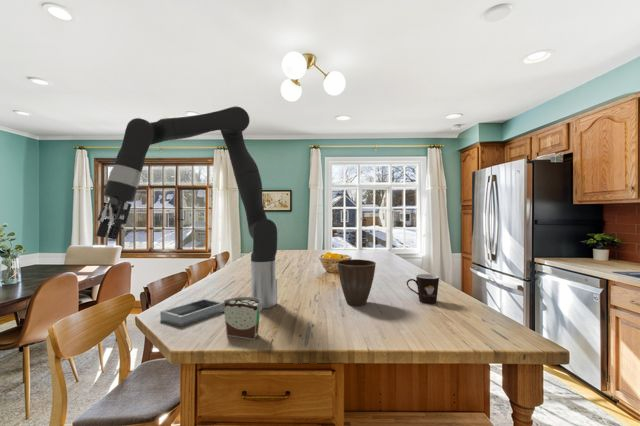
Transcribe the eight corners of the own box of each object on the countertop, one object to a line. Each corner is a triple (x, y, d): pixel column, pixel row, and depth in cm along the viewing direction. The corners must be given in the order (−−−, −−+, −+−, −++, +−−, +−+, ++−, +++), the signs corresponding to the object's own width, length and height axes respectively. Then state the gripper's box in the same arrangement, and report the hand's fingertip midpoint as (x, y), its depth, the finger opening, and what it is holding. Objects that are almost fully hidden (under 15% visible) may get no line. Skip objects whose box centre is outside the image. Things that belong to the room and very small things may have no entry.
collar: (204, 306, 112) (204, 298, 112) (224, 311, 107) (224, 303, 107) (160, 320, 98) (160, 311, 98) (181, 326, 92) (181, 317, 92)
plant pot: (383, 303, 115) (383, 262, 115) (359, 312, 105) (359, 267, 105) (353, 295, 126) (353, 258, 126) (329, 303, 115) (329, 262, 115)
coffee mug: (441, 300, 118) (441, 275, 118) (437, 306, 111) (436, 279, 111) (412, 296, 124) (411, 272, 124) (406, 301, 117) (405, 276, 117)
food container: (270, 332, 87) (270, 298, 87) (259, 340, 82) (259, 304, 82) (235, 327, 91) (234, 294, 91) (222, 335, 86) (222, 300, 86)
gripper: (147, 187, 85) (130, 242, 82) (126, 188, 94) (111, 238, 91) (118, 178, 80) (99, 237, 76) (99, 180, 88) (82, 233, 85)
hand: (106, 237), depth 84 cm, fingers open, 8 cm apart
